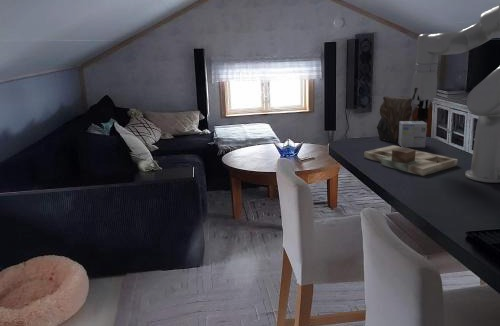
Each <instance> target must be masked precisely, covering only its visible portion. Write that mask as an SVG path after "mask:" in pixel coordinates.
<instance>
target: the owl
mask: <svg viewBox="0 0 500 326" xmlns="http://www.w3.org/2000/svg"><path fill="white" fill-rule="evenodd" d="M382 98H383V99H382V100H383V102H382V103H381V105H380V107H379V115H380V119H379V120H378V124H377V126H376V129H377V134H378V139H379V138H380V139H379V140H382V139H385V140H384V141H386V140H389V141H393V142H392V143H394V142H397V143H398V137H399V121H410V118H411V116H412V112H413V105H412V101H413V100H412V99H411V98H410V97H404V96H383V97H382ZM389 141H388V142H389Z"/></svg>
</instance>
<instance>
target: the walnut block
mask: <svg viewBox="0 0 500 326" xmlns="http://www.w3.org/2000/svg"><path fill="white" fill-rule="evenodd" d="M407 148H408V147H403V148H402V147H401V148H398V149H394V150H392V160H391V161H396V162H401V163H405V164H407V163H409V162H412V161H415V153H416V150H417V149H413V150H412V148H408V149H407Z"/></svg>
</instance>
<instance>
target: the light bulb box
mask: <svg viewBox="0 0 500 326" xmlns="http://www.w3.org/2000/svg"><path fill="white" fill-rule="evenodd" d="M427 127H428V123H427V122H425V121H423V120H420V121H419V120H415V121H414V120H411V121H410V120H409V121H399V137H398V142H397V145H398V144H399V145H400V146H401V147H403V148H426V140H427V129H428V128H427ZM399 145H398V146H399ZM400 146H399V147H400Z"/></svg>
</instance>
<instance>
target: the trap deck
mask: <svg viewBox="0 0 500 326" xmlns="http://www.w3.org/2000/svg"><path fill="white" fill-rule="evenodd" d="M398 148H401V147H400V146H399V145H393V144H392V145H388V146H384V147H379V148H375V149H371V150H367V151H363V152H364V153H363V154H364V155H363V158H364V159H368V160H372V161H375V162H379V163H380V164H381V166H384V167H387V168H392V169H395V170H398V171H402V172H406V173H410V174H414V175H418V176H422V177H425V176H427V175H430V174H434V173H437V172H440V171H444V170H447V169H450V168H454V167H457V166H458V161H459V160H458V158H453V157H449V156H446V155H445V156H444V155H441V154H435V153H431V152H426V151H421V150H417V149H415V150H416V153H415V161H412V162H409V163H407V164H405V163H401V162H396V161H391V160H392V150H394V149H398ZM402 148H404V147H402ZM406 148H407V149H409V147H406ZM411 149H412V148H411ZM412 150H414V149H412Z"/></svg>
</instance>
